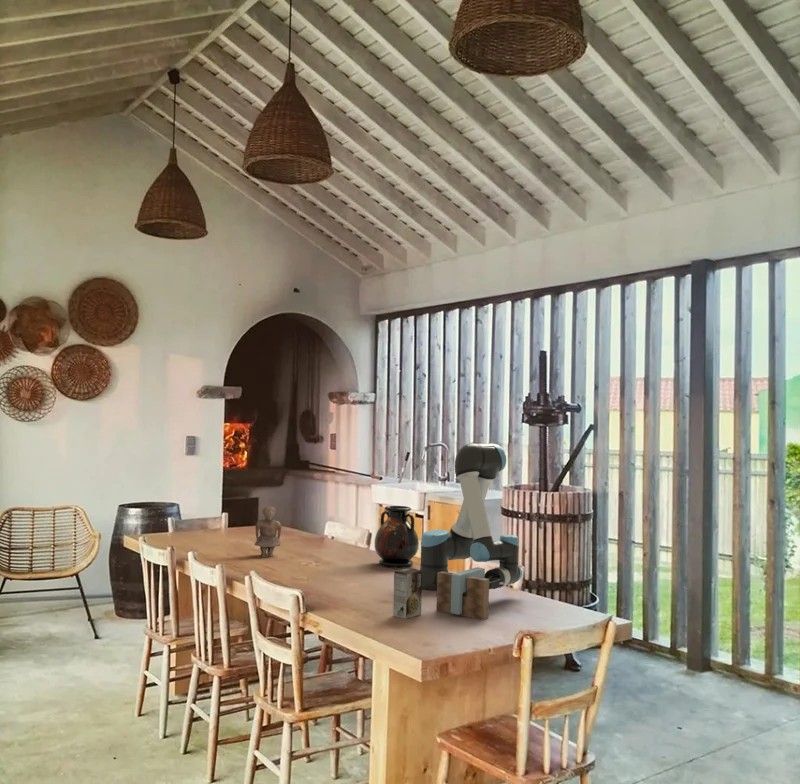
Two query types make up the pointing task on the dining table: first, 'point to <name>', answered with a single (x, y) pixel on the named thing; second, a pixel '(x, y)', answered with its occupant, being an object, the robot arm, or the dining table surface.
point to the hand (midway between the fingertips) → (466, 587)
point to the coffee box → (407, 593)
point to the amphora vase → (396, 538)
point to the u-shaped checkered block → (464, 596)
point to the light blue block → (462, 587)
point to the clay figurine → (268, 532)
